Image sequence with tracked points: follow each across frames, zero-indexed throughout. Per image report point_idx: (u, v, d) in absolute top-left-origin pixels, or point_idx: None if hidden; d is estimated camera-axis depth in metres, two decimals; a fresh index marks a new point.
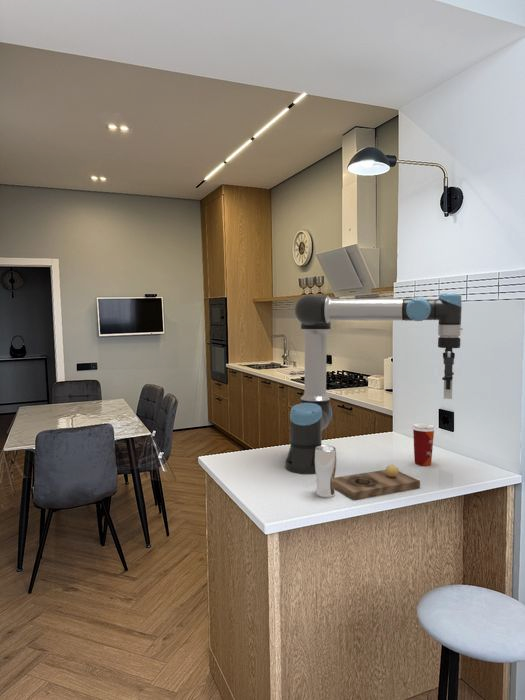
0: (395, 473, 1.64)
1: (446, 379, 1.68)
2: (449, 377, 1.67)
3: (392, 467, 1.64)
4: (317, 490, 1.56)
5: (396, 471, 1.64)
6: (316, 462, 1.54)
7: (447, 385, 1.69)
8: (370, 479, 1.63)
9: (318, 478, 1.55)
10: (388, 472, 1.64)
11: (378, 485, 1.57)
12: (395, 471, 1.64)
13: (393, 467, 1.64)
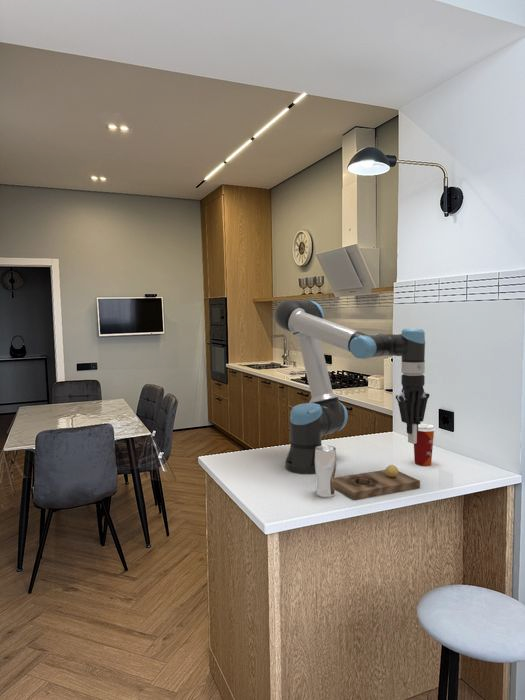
0: (395, 473, 1.64)
1: None
2: (404, 421, 1.66)
3: (392, 467, 1.64)
4: (317, 490, 1.56)
5: (396, 471, 1.64)
6: (316, 462, 1.54)
7: (407, 429, 1.67)
8: (370, 479, 1.63)
9: (318, 478, 1.55)
10: (388, 472, 1.64)
11: (378, 485, 1.57)
12: (395, 471, 1.64)
13: (393, 467, 1.64)
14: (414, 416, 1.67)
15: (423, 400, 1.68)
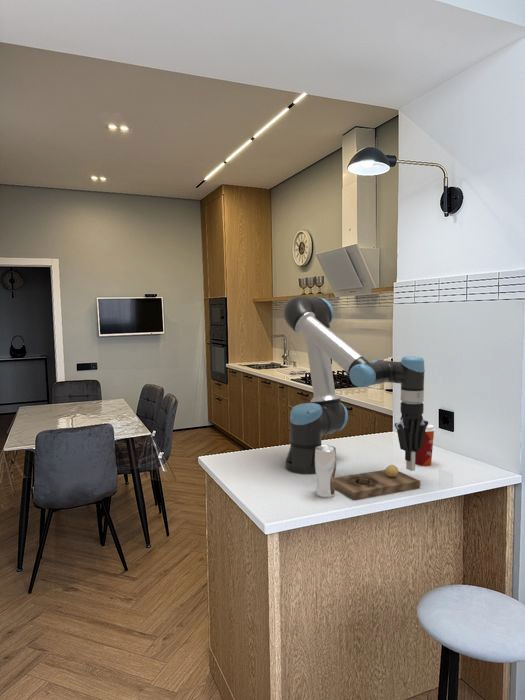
0: (395, 473, 1.64)
1: (404, 450, 1.68)
2: (403, 448, 1.66)
3: (392, 467, 1.64)
4: (317, 490, 1.56)
5: (396, 471, 1.64)
6: (316, 462, 1.54)
7: (406, 456, 1.68)
8: (370, 479, 1.63)
9: (318, 478, 1.55)
10: (388, 472, 1.64)
11: (378, 485, 1.57)
12: (395, 471, 1.64)
13: (393, 467, 1.64)
14: (413, 443, 1.68)
15: (422, 427, 1.69)
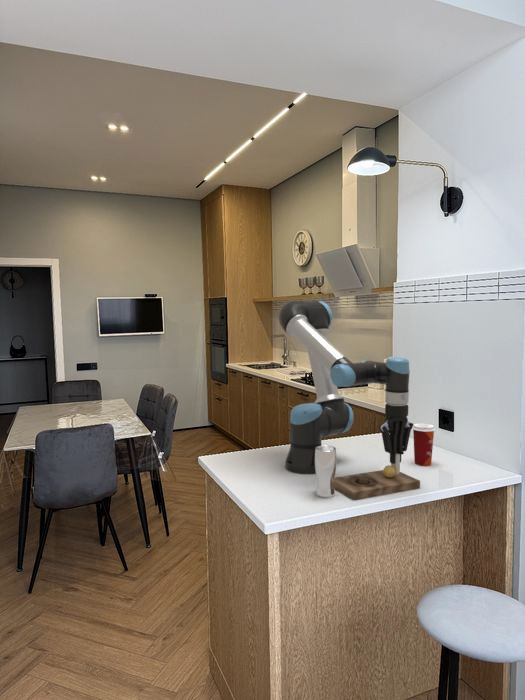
0: (393, 474, 1.63)
1: None
2: (387, 451, 1.64)
3: (388, 469, 1.64)
4: (317, 490, 1.56)
5: (393, 471, 1.63)
6: (316, 462, 1.54)
7: (390, 459, 1.66)
8: (370, 479, 1.63)
9: (318, 478, 1.55)
10: (386, 475, 1.64)
11: (378, 485, 1.57)
12: (392, 472, 1.63)
13: (389, 469, 1.64)
14: (397, 446, 1.66)
15: (407, 430, 1.66)
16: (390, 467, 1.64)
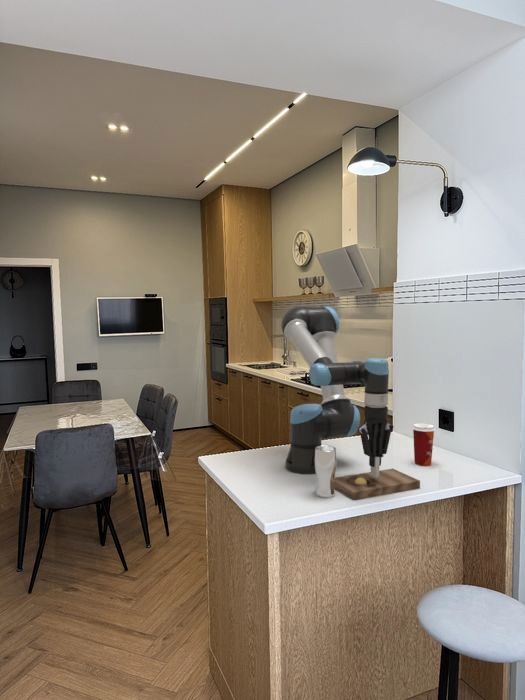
0: None
1: (368, 455, 1.62)
2: (366, 454, 1.61)
3: (361, 480, 1.59)
4: (317, 490, 1.56)
5: (364, 484, 1.59)
6: (316, 462, 1.54)
7: (370, 461, 1.62)
8: (370, 479, 1.63)
9: (318, 478, 1.55)
10: None
11: (378, 485, 1.57)
12: (363, 484, 1.59)
13: (362, 480, 1.59)
14: (377, 448, 1.62)
15: (387, 432, 1.63)
16: (364, 479, 1.60)
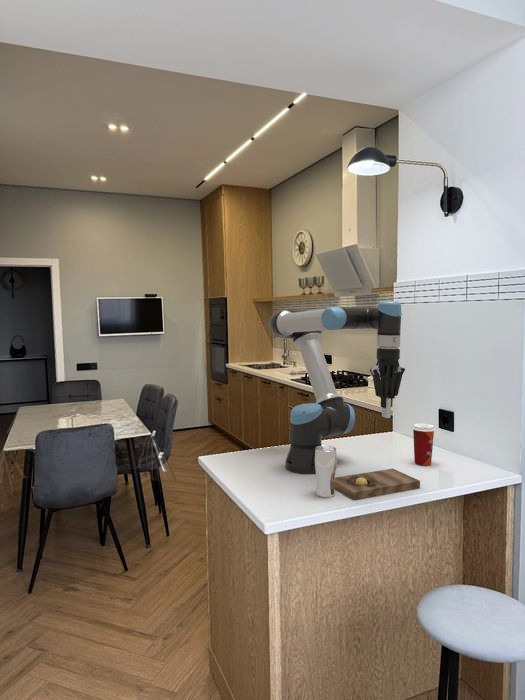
0: None
1: None
2: (378, 395, 1.64)
3: (362, 479, 1.60)
4: (317, 490, 1.56)
5: (365, 484, 1.59)
6: (316, 462, 1.54)
7: (381, 403, 1.65)
8: (370, 479, 1.63)
9: (318, 478, 1.55)
10: (357, 483, 1.60)
11: (378, 485, 1.57)
12: (364, 484, 1.59)
13: (363, 479, 1.60)
14: (388, 390, 1.65)
15: (398, 374, 1.66)
16: (365, 479, 1.60)
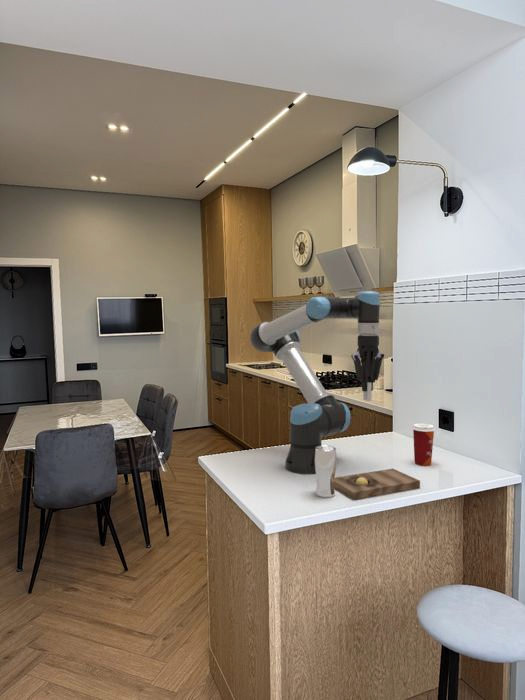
0: None
1: (361, 381, 1.76)
2: (359, 379, 1.75)
3: (363, 479, 1.60)
4: (317, 490, 1.56)
5: (366, 484, 1.59)
6: (316, 462, 1.54)
7: (362, 387, 1.76)
8: (370, 479, 1.63)
9: (318, 478, 1.55)
10: (357, 483, 1.60)
11: (378, 485, 1.57)
12: (365, 484, 1.59)
13: (364, 479, 1.60)
14: (369, 375, 1.76)
15: (378, 360, 1.77)
16: None
